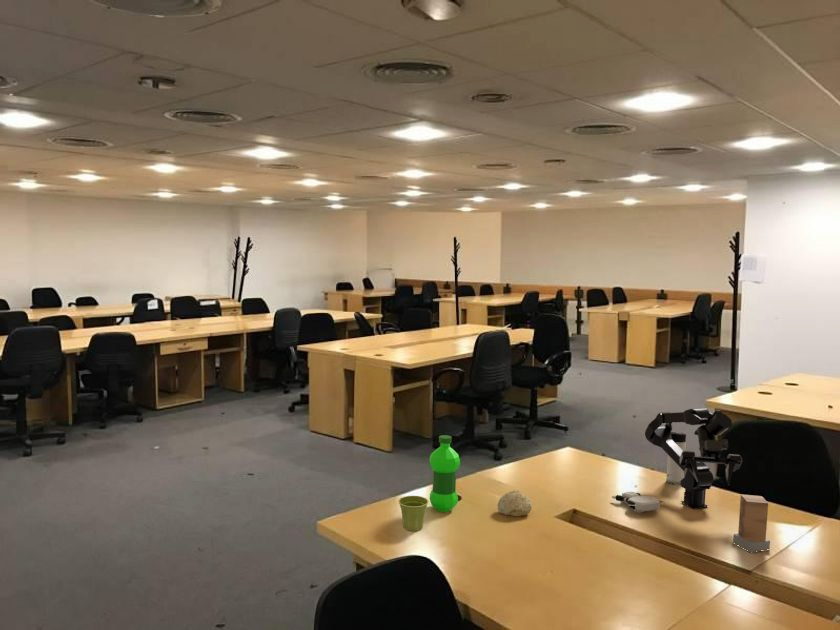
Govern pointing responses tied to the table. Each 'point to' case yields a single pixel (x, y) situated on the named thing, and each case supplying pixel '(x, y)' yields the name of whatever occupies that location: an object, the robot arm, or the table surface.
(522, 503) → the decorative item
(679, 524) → the table surface
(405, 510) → the plant pot
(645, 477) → the table surface
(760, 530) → the walnut block
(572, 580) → the table surface
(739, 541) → the base slab
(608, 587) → the table surface
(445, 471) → the plastic bottle
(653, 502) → the robot toy
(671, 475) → the travel mug
